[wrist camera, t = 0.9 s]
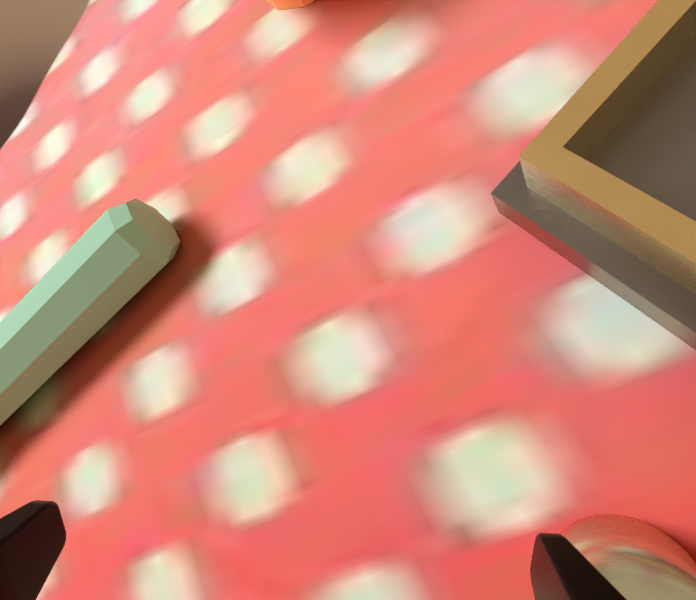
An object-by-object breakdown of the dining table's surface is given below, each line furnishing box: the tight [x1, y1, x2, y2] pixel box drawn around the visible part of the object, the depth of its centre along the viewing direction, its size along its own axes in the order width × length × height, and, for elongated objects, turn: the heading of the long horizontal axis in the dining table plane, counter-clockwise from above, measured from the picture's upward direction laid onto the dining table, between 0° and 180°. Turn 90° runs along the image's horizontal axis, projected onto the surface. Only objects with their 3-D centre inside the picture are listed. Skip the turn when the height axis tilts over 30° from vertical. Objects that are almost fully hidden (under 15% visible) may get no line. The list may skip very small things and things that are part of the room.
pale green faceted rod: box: [0, 199, 180, 426], centre depth 31 cm, size 6×6×25 cm
